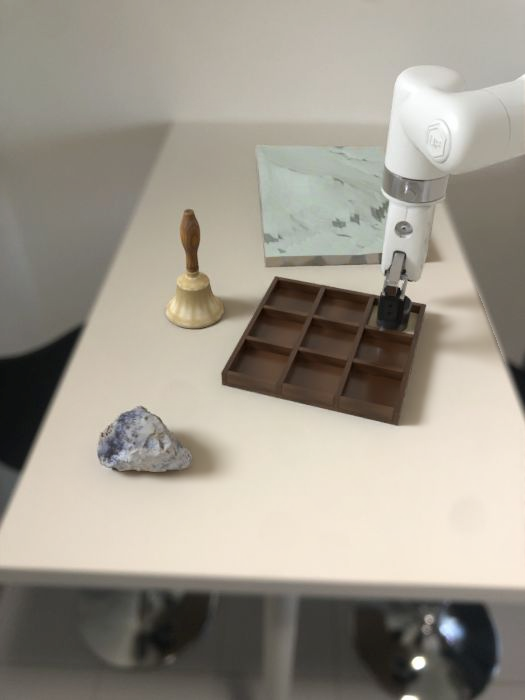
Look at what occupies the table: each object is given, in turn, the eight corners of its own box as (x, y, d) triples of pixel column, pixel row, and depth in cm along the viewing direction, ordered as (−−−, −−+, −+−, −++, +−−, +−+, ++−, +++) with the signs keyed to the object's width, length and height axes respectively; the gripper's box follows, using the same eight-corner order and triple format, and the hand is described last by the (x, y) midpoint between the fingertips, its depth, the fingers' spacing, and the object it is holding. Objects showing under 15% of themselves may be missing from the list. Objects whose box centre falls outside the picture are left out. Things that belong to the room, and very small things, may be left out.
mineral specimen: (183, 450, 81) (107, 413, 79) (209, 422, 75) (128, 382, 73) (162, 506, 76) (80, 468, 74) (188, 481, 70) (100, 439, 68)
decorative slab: (244, 159, 133) (244, 134, 130) (381, 156, 134) (384, 131, 131) (251, 267, 104) (251, 239, 101) (425, 262, 105) (430, 234, 102)
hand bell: (232, 299, 98) (229, 200, 88) (212, 334, 92) (206, 231, 82) (179, 289, 100) (170, 190, 89) (156, 322, 94) (143, 221, 83)
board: (424, 316, 95) (426, 304, 94) (397, 425, 79) (399, 413, 78) (274, 287, 100) (275, 275, 99) (221, 384, 84) (221, 372, 83)
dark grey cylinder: (410, 316, 94) (414, 295, 91) (405, 335, 90) (409, 314, 88) (379, 310, 95) (382, 289, 92) (373, 329, 91) (375, 308, 89)
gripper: (438, 221, 72) (414, 344, 83) (455, 154, 84) (433, 269, 95) (368, 210, 74) (354, 332, 85) (395, 146, 86) (380, 260, 97)
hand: (396, 299), depth 90 cm, fingers open, 9 cm apart
